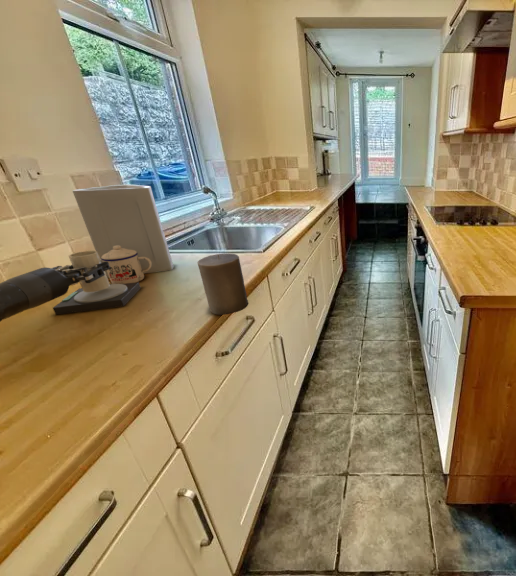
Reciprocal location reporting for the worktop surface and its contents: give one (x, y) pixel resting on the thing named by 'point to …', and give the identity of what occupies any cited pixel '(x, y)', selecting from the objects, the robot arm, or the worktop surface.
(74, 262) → the cup
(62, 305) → the scale
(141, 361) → the worktop surface
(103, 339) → the worktop surface
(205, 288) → the pillar candle
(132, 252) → the teacup with lid
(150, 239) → the light grey box
